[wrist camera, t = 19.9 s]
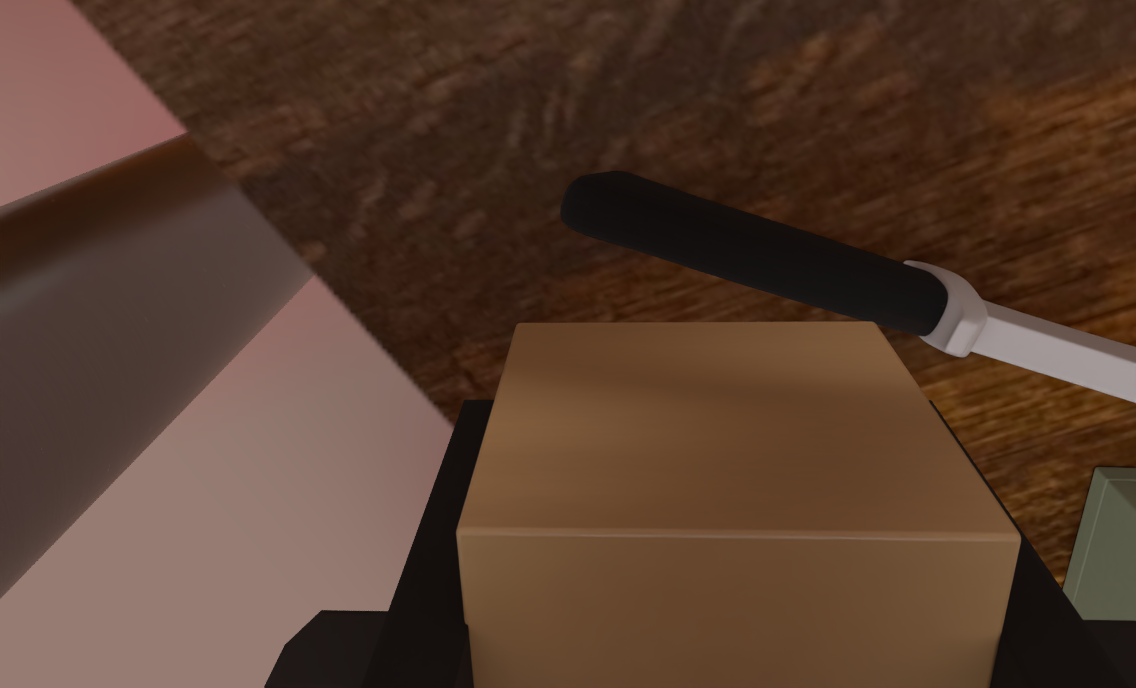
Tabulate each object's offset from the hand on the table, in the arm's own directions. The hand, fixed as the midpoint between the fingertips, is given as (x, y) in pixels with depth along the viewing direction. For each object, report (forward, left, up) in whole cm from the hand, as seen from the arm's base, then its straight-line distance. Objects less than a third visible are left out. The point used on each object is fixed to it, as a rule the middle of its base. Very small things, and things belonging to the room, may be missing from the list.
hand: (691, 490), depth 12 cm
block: (0, 0, 0) cm, 0 cm away
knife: (+9, -3, -15) cm, 18 cm away
